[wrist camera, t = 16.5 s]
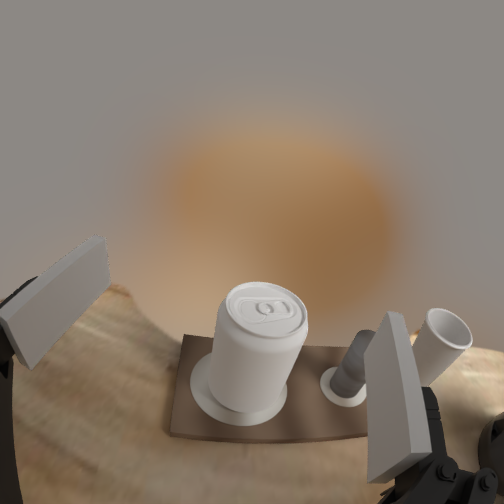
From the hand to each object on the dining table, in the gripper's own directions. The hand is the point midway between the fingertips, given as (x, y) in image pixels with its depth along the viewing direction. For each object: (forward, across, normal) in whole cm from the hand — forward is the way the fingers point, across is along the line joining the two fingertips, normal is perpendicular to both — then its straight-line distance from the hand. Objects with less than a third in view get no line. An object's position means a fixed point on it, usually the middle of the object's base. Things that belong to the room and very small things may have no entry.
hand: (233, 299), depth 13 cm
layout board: (+12, +6, -21) cm, 25 cm away
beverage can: (+10, +1, -20) cm, 22 cm away
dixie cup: (+19, +26, -22) cm, 39 cm away
